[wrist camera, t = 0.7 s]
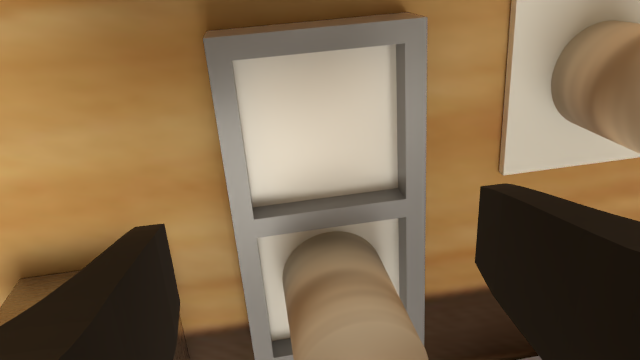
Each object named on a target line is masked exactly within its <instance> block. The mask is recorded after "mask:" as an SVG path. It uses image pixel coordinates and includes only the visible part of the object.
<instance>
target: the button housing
mask: <svg viewBox="0 0 640 360" xmlns="http://www.w3.org/2000/svg"><path fill="white" fill-rule="evenodd" d="M80 271H81V270H80ZM80 271H73V272H66V273H59V274H52V275H45V276H38V277H31V278H24V279H20V280H19V282H18V283H17V284H16V286H15V287H14V289H13V290H12V292H11V293H10V294H9V296H8V297H7V299H6V300H5V301H4V303H3V304H2V306H1V307H0V326H1V325H3V324H4V323H6V322H8V321H9V320H11V319H13V318H14V317H16V316H18V315H19V314H21V313H22V312H24V311H25V310H27V309H28V308H30V307H32V306H33V305H35V304H36V303H37V302H39V301H40V300H42V299H43V298H45V297H46V296H47V295H49V294H50V293H51V292H53V291H54V290H55V289H57V288H58V287H60V286H61V285H62V284H64V283H65V282H66V281H68V280H69V279H70V278H72V277H73V276H74V275H76V274H77V273H78V272H80ZM173 360H190V359H189V354H188V350H187V346H186V341H185V337H184V332H183V328H182V324H181V319H180V315H179V326H178V337H177V345H176V350H175V354H174V359H173Z"/></svg>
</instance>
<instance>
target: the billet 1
mask: <svg viewBox="0 0 640 360" xmlns="http://www.w3.org/2000/svg"><path fill="white" fill-rule="evenodd" d="M282 280H283V289H284V296H285V303H286V310H287V317H288V324H289V331H290V337H291V344H292V351H293V358H294V360H428V356H427V353H426V350H425V348H424V346H423V344H422V342H421V340H420V338H419V336H418V334H417V332H416V330H415V328H414V326H413V324H412V322H411V320H410V318H409V316H408V314H407V312H406V310H405V308H404V305H403V303H402V301H401V299H400V297H399V295H398V293H397V291H396V289H395V287H394V285H393V283H392V281H391V279H390V277H389V275H388V273H387V271H386V269H385V267H384V265H383V263H382V261H381V259H380V257H379V255H378V253H377V251H376V250H375V248H374V247H373V246H372V245H371V244H370V243H369V242H368V241H367V240H365V239H364V238H362V237H360V236H358V235H356V234H353V233H349V232H343V231H333V232H326V233H321V234H318V235H315V236H313V237H311V238H309V239H307V240H306V241H304V242H303V243H301V244H300V245H299V246H298V247H297V248H296V249H295V250H294V251H293V252H292V253H291V255H290V256H289V258H288V260H287V262H286V264H285V266H284V270H283V277H282Z"/></svg>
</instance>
